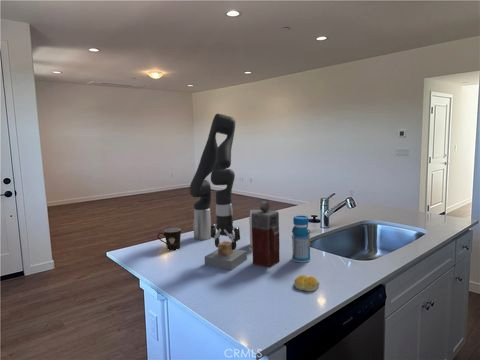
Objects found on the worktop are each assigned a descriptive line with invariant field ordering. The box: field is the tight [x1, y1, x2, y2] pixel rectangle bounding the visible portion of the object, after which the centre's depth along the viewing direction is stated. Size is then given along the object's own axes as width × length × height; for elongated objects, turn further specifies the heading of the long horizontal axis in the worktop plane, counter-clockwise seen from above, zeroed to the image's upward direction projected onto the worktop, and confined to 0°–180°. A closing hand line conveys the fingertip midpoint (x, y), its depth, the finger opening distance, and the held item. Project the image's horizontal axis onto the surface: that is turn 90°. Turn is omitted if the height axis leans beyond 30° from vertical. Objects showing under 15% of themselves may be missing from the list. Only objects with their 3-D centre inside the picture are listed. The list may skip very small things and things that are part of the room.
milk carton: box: [248, 209, 261, 248], centre depth 171 cm, size 7×7×19 cm
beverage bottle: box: [291, 214, 312, 263], centre depth 149 cm, size 8×8×20 cm
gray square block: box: [204, 248, 248, 271], centre depth 150 cm, size 14×14×4 cm
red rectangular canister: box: [251, 201, 281, 269], centre depth 146 cm, size 9×11×28 cm
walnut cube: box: [217, 240, 233, 256], centre depth 149 cm, size 5×5×5 cm
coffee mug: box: [157, 227, 182, 251], centre depth 172 cm, size 12×9×10 cm
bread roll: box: [294, 274, 320, 292], centre depth 123 cm, size 8×9×4 cm
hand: (225, 248), depth 149 cm, fingers open, 8 cm apart
